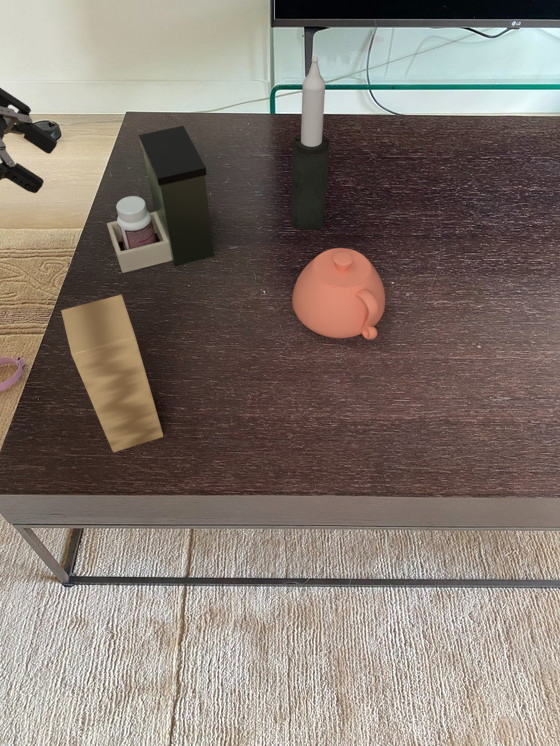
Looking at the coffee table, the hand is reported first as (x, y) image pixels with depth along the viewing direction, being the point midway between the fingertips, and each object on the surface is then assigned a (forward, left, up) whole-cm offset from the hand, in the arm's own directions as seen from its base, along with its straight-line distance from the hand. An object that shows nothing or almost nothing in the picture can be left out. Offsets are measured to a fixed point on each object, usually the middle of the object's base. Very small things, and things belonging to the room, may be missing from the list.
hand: (47, 167), depth 80 cm
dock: (+9, -3, -15) cm, 17 cm away
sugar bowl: (+31, -26, -15) cm, 43 cm away
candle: (+35, -5, -15) cm, 38 cm away
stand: (+1, -33, -15) cm, 36 cm away
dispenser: (+16, -3, -15) cm, 22 cm away
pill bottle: (+9, -3, -15) cm, 18 cm away
